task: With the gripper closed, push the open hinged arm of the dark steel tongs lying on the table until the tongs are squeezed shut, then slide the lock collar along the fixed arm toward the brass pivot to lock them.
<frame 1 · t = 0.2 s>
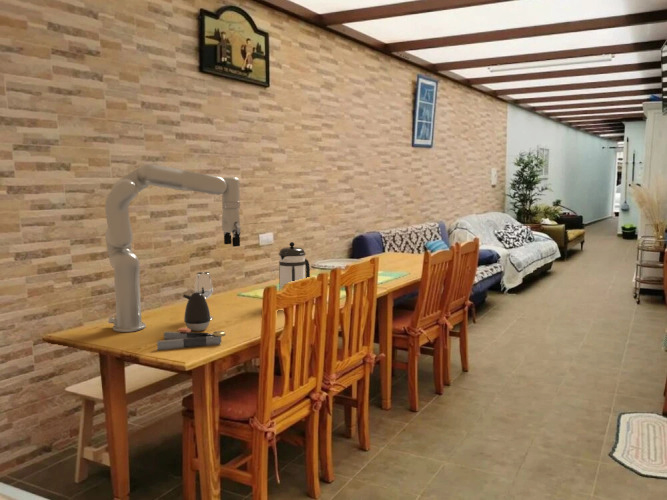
hand: (232, 245, 250), 31 cm above the table, tool pointing down, fingers open, 9 cm apart
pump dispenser: (197, 329, 230), on the table
wineglass: (204, 319, 247), on the table
tongs fixed arm: (219, 343, 211), on the table
tongs moving arm: (189, 342, 206), point 2 cm above the table, hinge at 28.0°
coffee press: (293, 303, 276), on the table
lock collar: (184, 333, 216), point 2 cm above the table, slide at 0.0 cm
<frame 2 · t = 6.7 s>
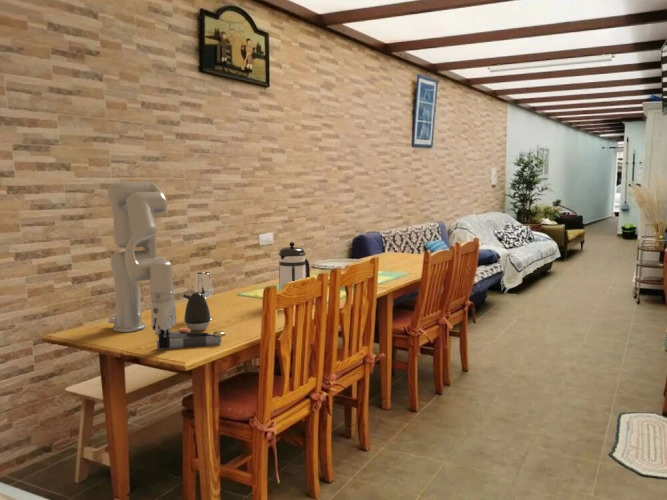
hand: (164, 347, 202), 1 cm above the table, tool pointing down, fingers closed
tongs moving arm: (189, 342, 207), point 2 cm above the table, hinge at 26.1°, touching gripper
everything else where it was.
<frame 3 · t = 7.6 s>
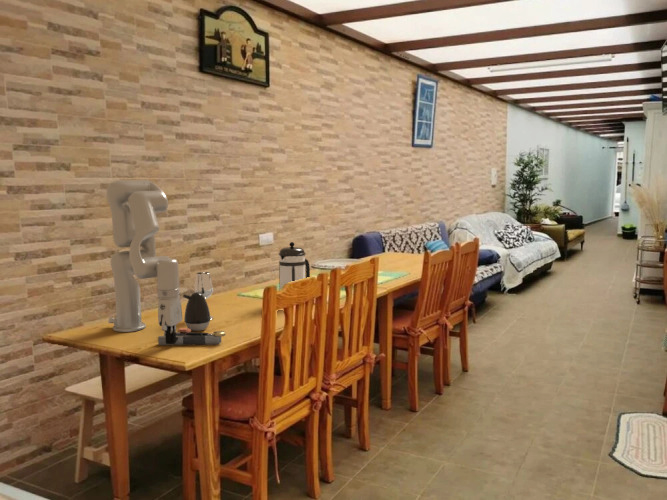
hand: (170, 343, 207), 1 cm above the table, tool pointing down, fingers closed
tongs moving arm: (189, 340, 209), point 2 cm above the table, hinge at 11.3°, touching gripper
everything else where it was.
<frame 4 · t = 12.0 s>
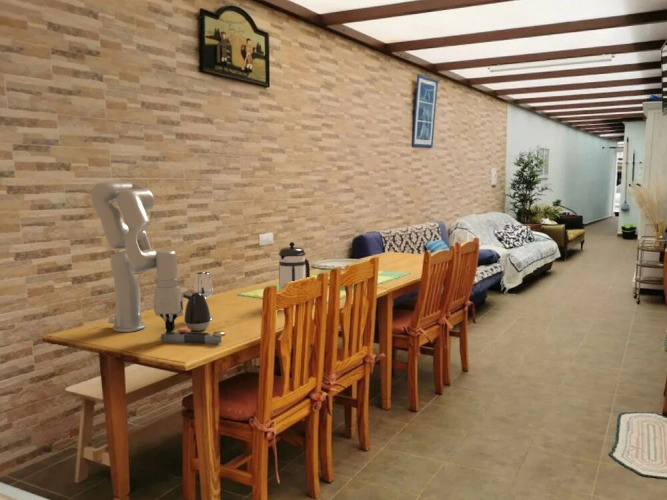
hand: (170, 330, 217), 3 cm above the table, tool pointing down, fingers closed
tongs moving arm: (190, 338, 211), point 2 cm above the table, hinge at 1.3°
everything else where it was.
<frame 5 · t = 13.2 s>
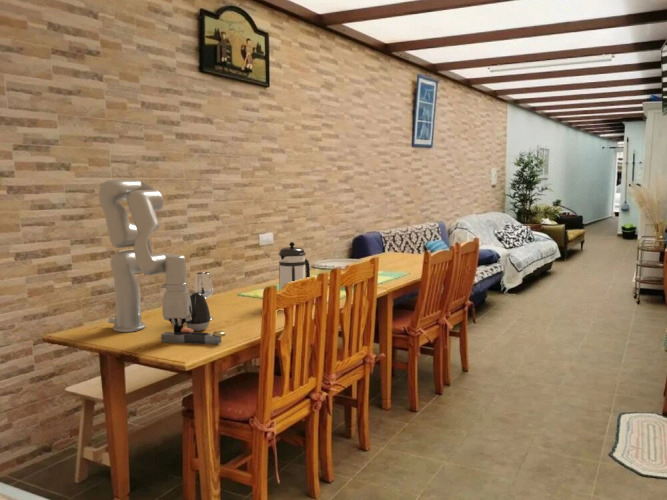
hand: (178, 335, 217), 1 cm above the table, tool pointing down, fingers closed
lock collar: (187, 333, 216), point 2 cm above the table, slide at 1.0 cm, touching gripper
everything else where it was.
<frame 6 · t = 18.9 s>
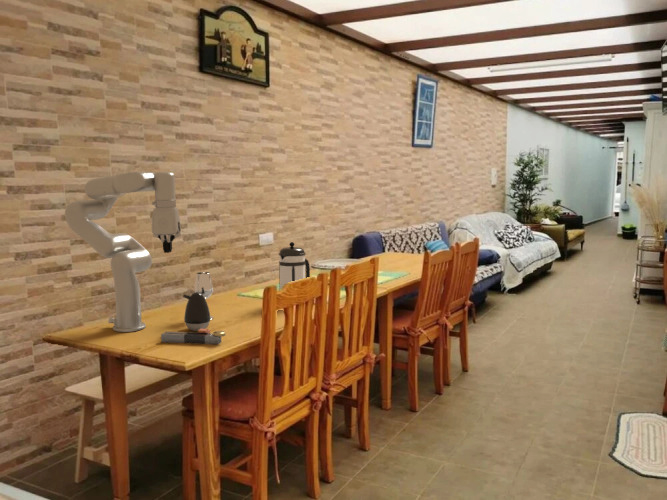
hand: (167, 252, 221), 32 cm above the table, tool pointing down, fingers closed
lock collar: (204, 334, 215), point 2 cm above the table, slide at 7.8 cm
everything else where it was.
at the end: tongs moving arm at +1° (first picture: +28°); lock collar slide at 7.8 cm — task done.
